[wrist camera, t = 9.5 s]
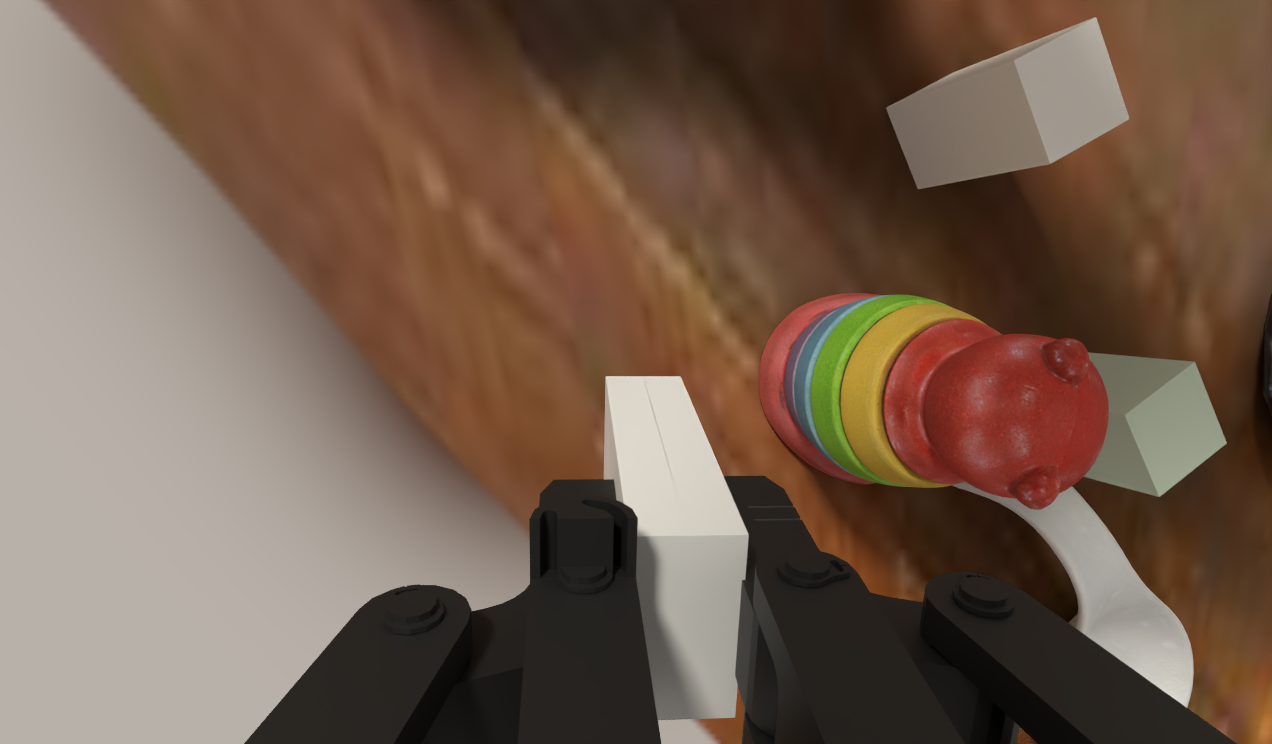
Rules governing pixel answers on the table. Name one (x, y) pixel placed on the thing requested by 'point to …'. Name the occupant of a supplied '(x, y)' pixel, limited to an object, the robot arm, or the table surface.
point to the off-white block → (1011, 109)
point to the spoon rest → (1111, 593)
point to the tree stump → (1268, 358)
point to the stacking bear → (932, 398)
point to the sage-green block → (1153, 423)
